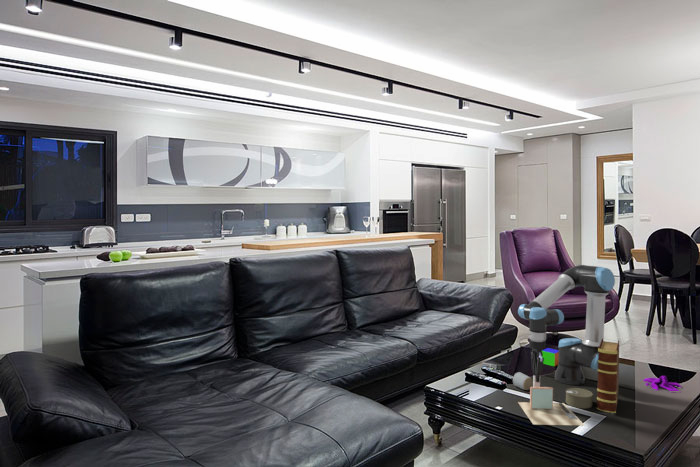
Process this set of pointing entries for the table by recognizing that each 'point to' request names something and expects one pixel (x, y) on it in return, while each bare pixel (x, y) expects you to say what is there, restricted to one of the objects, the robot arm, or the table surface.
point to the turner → (568, 414)
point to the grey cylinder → (522, 381)
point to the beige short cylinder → (579, 397)
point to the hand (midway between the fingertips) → (536, 387)
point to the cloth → (661, 383)
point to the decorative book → (608, 376)
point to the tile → (541, 397)
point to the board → (549, 415)
